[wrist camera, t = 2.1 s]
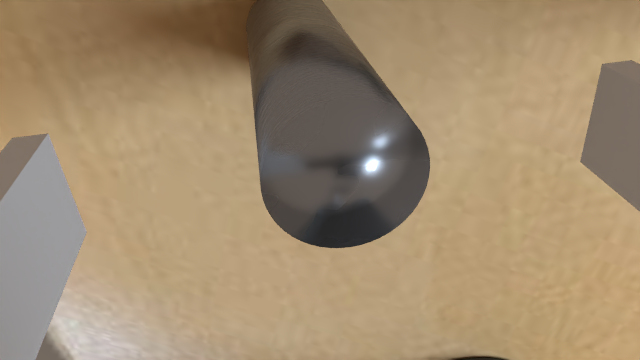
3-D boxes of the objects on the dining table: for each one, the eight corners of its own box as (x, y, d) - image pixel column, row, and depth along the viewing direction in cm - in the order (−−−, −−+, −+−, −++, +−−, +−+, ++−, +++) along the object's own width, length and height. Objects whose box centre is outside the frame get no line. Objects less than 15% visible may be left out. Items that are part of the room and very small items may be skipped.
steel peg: (295, 87, 25) (351, 271, 13) (229, 36, 24) (224, 196, 12) (349, 23, 24) (463, 162, 12) (282, -35, 22) (340, 60, 10)
